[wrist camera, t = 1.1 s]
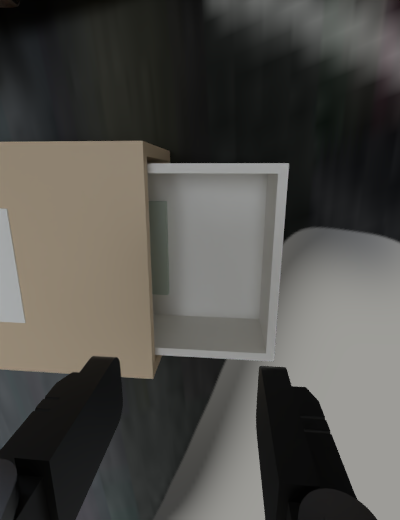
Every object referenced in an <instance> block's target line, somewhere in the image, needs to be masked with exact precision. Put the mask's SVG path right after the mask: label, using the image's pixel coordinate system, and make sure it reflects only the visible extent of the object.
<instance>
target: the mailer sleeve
mask: <svg viewBox="0 0 400 520" xmlns="http://www.w3.org/2000/svg"><path fill="white" fill-rule="evenodd" d="M147 163H170V151H168V150H165V149H163V148H160V147H157V146H155V145H152V144H150V143H147V142H144V141H51V142H0V369H4V370H20V371H36V372H51V373H67V374H71V373H72V372H80V371H81V370H82V368H83V367H84V366H85V364H86V363H87V362H88V360H89V359H90V358H91V357H92V356H104V357H117V358H118V359H119V361H120V369H121V377H130V378H145V379H153V378H154V375H155V372H156V370H157V367H158V364H159V362H160V359H161V357H162V355H155V345H154V321H153V296H152V272H151V248H150V223H149V199H148V175H147Z"/></svg>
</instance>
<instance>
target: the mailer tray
mask: <svg viewBox="0 0 400 520" xmlns="http://www.w3.org/2000/svg"><path fill="white" fill-rule="evenodd" d="M288 170H289V163H147V175H148V199H149V223H150V248H151V272H152V296H153V321H154V345H155V355H168V356H185V357H203V358H221V359H239V360H257V361H274V354H275V341H276V328H277V315H278V300H279V288H280V275H281V262H282V249H283V236H284V223H285V210H286V197H287V183H288Z"/></svg>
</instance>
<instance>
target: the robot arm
mask: <svg viewBox="0 0 400 520" xmlns="http://www.w3.org/2000/svg"><path fill="white" fill-rule="evenodd" d="M122 407H123V395H122V382H121V369H120V361H119V359H118V358H117V357H104V356H92V357H91V358H90V359H89V360H88V362H87V363H86V364H85V366H84V367H83V368H82V370H81V371H80V372H72V373H71V374H69V375H68V376H66V377H65V378H63V379H62V380H60V381H59V382H57V383H56V384H55V385H54V387H53V388H52V389H51V390H50V391H49V393H48V394H47V395H46V396H45V399H43V400H42V401H41V402H40V403H39V405H38V406H37V407H36V410H35V411H33V412H32V413H31V414H30V415H29V417H28V418H27V419H26V420H25V421H24V423H23V424H22V425H21V426H20V427H19V429H18V430H17V431H16V432H15V433H14V435H13V436H12V437H11V438H10V439H9V441H8V442H7V443H6V444H5V445H4V447H3V448H2V449H1V450H0V520H75V519H76V517H77V515H78V513H79V511H80V508H81V506H82V504H83V502H84V499H85V497H86V495H87V493H88V491H89V488H90V486H91V484H92V482H93V479H94V477H95V475H96V473H97V470H98V468H99V466H100V464H101V462H102V459H103V457H104V455H105V453H106V450H107V448H108V446H109V444H110V442H111V439H112V437H113V435H114V433H115V430H116V428H117V426H118V424H119V421H120V418H121V414H122ZM256 428H257V441H258V450H259V460H260V470H261V480H262V490H263V500H264V509H265V520H377V519H376V517H375V516H374V515H373V514H372V513H371V512H370V510H369V509H368V508H366V507H365V506H364V505H363V504H362V503H361V502H359V501H358V500H357V498H356V496H355V494H354V491H353V489H352V486H351V484H350V481H349V478H348V476H347V473H346V471H345V468H344V465H343V463H342V460H341V458H340V455H339V453H338V450H337V447H336V445H335V442H334V440H333V437H332V435H331V434H330V429H329V427H328V424H327V422H326V420H325V416H324V414H323V411H322V409H321V406H320V404H319V401H318V400H317V399H316V398H315V397H314V396H313V395H312V394H311V392H309V390H308V389H307V388H306V387H293V386H291V383H290V379H289V376H288V372H287V369H286V368H285V367H269V366H260V367H259V377H258V393H257V409H256Z"/></svg>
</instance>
